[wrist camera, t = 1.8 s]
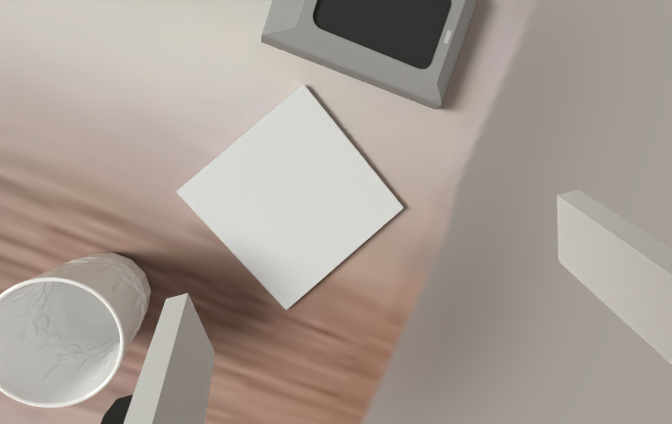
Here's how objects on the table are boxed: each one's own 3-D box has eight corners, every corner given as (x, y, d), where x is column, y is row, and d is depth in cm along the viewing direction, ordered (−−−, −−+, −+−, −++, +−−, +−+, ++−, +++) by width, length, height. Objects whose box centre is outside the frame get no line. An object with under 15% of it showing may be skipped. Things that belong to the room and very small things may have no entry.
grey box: (304, -102, 33) (490, -16, 36) (299, -77, 36) (469, -1, 39) (261, 31, 33) (448, 104, 36) (261, 43, 37) (431, 109, 40)
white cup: (92, 224, 36) (30, 250, 26) (179, 281, 38) (151, 326, 28) (30, 306, 36) (-55, 362, 26) (120, 359, 38) (71, 432, 28)
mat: (177, 191, 37) (175, 191, 36) (302, 84, 37) (303, 83, 37) (285, 308, 39) (286, 310, 39) (401, 207, 40) (403, 207, 39)
